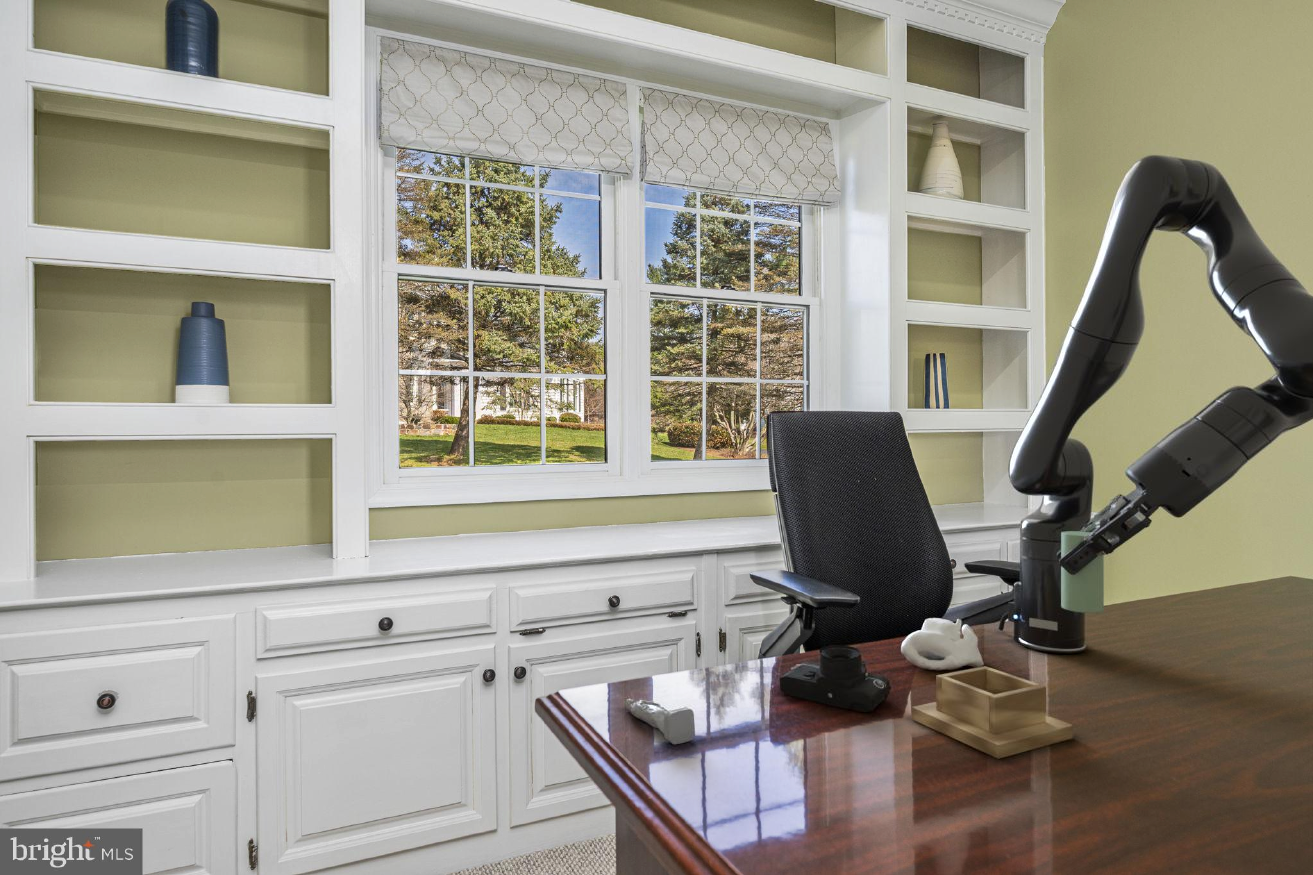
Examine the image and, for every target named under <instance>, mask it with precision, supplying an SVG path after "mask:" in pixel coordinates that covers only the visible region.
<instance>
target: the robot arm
mask: <svg viewBox="0 0 1313 875" xmlns="http://www.w3.org/2000/svg"><path fill="white" fill-rule="evenodd" d="M1219 170H1220V169H1218V168H1217V167H1215V166H1214V165H1212V164H1210V163H1207V162H1205V161H1202V160H1196V159H1191V158H1190V159H1189V158H1182V157H1176V156H1169V155H1161V154H1149V155H1147V156H1144V157H1142V158H1140V159H1139V160H1137V161H1136V162H1135V163H1133V165H1132V166H1131V167H1130V168H1129V170H1128V171H1127V172H1126V174H1125V175H1124V176H1123V178H1122V181H1121V182H1120V185H1119V187H1118V189H1117V192H1116V194H1115V197H1114V200H1113V203H1112V205H1111V206H1112V207H1111V209H1110V213H1109V215H1108V219H1107V221H1106V222H1107V223H1106V225H1105V230H1104V232H1103V236H1102V240H1101V242H1100V246H1099V249H1098V253H1097V256H1096V259H1095V262H1094V265H1093V267H1092V270H1091V273H1090V275H1089V279H1088V281H1087V284H1086V287H1085V289H1084V291H1083V294H1082V296H1081V298H1080V302H1079V303H1078V306H1077V308H1076V310H1075V313H1074V315H1073V317H1072V319H1071V321H1070V324H1069V326H1068V329H1067V331H1066V334H1065V336H1064V339H1063V341H1062V343H1061V346H1060V349H1059V352H1058V354H1057V357H1056V360H1055V362H1054V365H1053V367H1052V369H1051V371H1050V374H1049V376H1048V379H1047V381H1046V383H1045V385H1044V387H1043V389H1042V392H1041V394H1040V396H1039V399H1038V401H1037V403H1036V405H1035V407H1034V409H1033V410H1032V413H1031V414H1030V416H1029V418H1028V420H1027V422H1026V423H1025V425H1024V427H1023V429H1022V431H1021V432H1020V434H1019V437H1018V438H1017V440H1016V442H1015V443H1014V446H1013V448H1012V450H1011V453H1010V456H1009V460H1008V465H1007V466H1008V468H1007V469H1008V478H1009V481H1010V484H1011V486H1012V487H1013V488H1014V490H1016V491H1017V492H1018V493H1020V494H1022V495H1026V496H1033V497H1037V496H1038V497H1042V499H1041V503H1040V505H1039V506H1038V508H1037V509H1035V511H1033V512H1032V513H1030V514H1029V515H1027V516H1025V517H1023V518H1022V519H1021V520H1020V523H1019V581H1016V582H1014V584H1013V601H1009V602H1008V603H1007V612H1005V613H1004V614H1002V617H1001V618H1000V619H999V620H1000V621H999V625H998V631H1001V632H1003V631H1004V628H1005V624H1006V621H1007V620H1008V622H1011V623H1013V641H1014V642H1018V643H1019V644H1020V645H1021V646H1024V647H1025V648H1029V649H1032V650H1036V651H1040V652H1045V653H1052V654H1064V655H1065V654H1067V655H1069V654H1080V653H1084V652H1085V651H1086V613H1082V612H1075V611H1070V610H1066V609H1064V608H1062V607H1061V566H1062V567H1063V568H1064V569H1065V570H1066V571H1067V572H1068V573H1069V574H1071V575H1075V574H1076V573H1078V572H1079V571H1080V570H1081V569H1083V568H1084V567H1085V566H1086V565H1088V564H1089V563H1090V562H1091V561H1093V560H1094V559H1095V558H1096V557H1098V555H1097V553H1098V554H1099V555H1100V556H1102V555H1104V556H1105V555H1107V556H1108V555H1109V554H1113V552H1114V551H1115V550H1117V549H1118V548H1119V547H1121V546H1122V545H1123V544H1125V543H1126V542H1128V541H1129V540H1130V539H1132V538H1134V537H1135V536H1136V535H1137V534H1138V533H1140V532H1142V531H1143V530H1144V529H1147V528H1149V527H1150V526H1151V524H1152V521H1153V519H1151V518H1150V517H1151V516H1152V515H1153V514H1154V513H1155V512H1157V511H1158V510H1159V508H1162V509H1163V510H1164V511H1165V512H1166V513H1168V514H1169V515H1171V516H1172V517H1174V518H1179V519H1180V518H1182V517H1184V516H1185V515H1186V514H1188V513H1189V512H1190V511H1191V510H1192V509H1194V508H1195V507H1197V506H1198V505H1199V504H1200V503H1202V502H1203V501H1204V500H1205V499H1207V498H1208V497H1209V496H1211V495H1212V494H1213V493H1214V492H1215V491H1217V490H1218V489H1219V488H1221V487H1222V486H1223V485H1225V484H1226V483H1227V482H1228V481H1230V480H1231V479H1232V478H1233V477H1234V476H1235V475H1236V474H1237V473H1238V472H1239V471H1240V470H1241V469H1242V468H1243V467H1244V466H1245V465H1246V464H1247V463H1249V461H1251V460H1252V459H1253V458H1255V457H1256V456H1257V455H1258V454H1260V453H1261V452H1262V451H1264V450H1265V449H1266V448H1267V447H1269V446H1270V445H1271V444H1273V443H1274V442H1275V441H1276V440H1277V439H1278V438H1279V437H1280V436H1282V435H1284V434H1285V433H1287V432H1289V431H1292V430H1294V429H1296V428H1299V427H1301V426H1303V425H1304V424H1307V423H1308V422H1310V421H1312V420H1313V295H1312V294H1310V293H1309V291H1308V290H1307V289H1306V287H1305V286H1304V285H1303V284H1302V282H1300V280H1298V278H1297V277H1296V276H1295V275H1294V274H1293V273H1292V272H1291V271H1290V270H1289V269H1288V268H1287V267H1286V266H1285V265H1284V264H1283V262H1282V261H1280V260H1279V259H1278V257H1277V256H1276V255H1275V254H1274V253H1273V252H1272V251H1271V250H1270V248H1269V247H1268V246H1267V245H1266V244H1265V243H1264V241H1263V239H1262V238H1261V236H1260V235H1259V234H1258V232H1257V231H1256V229H1255V228H1254V226H1253V225H1252V223H1251V221H1250V220H1249V218H1248V216H1247V214H1246V213H1245V211H1244V209H1243V208H1242V206H1241V205H1240V203H1239V201H1238V199H1237V197H1236V195H1235V193H1234V192H1233V190H1232V188H1231V186H1230V184H1229V183H1228V181H1227V179H1226V178H1225V177H1224V175H1223V174H1222V173H1221V171H1219ZM1154 231H1163V232H1167V233H1180V234H1182V235H1184V237H1186V238H1188V239H1189V240H1191V241H1192V242H1193V243H1194V244H1196V245H1197V246H1198V247H1199V248H1200V249H1201V250H1202V252H1203V253H1204V255H1205V258H1206V280H1207V285H1208V287H1209V289H1210V292H1211V294H1212V296H1213V297H1214V299H1215V301H1216V302H1217V303H1218V304H1219V305H1220V307H1221V308H1222V309H1223V311H1225V313H1226V314H1227V315H1228V316H1229V318H1230V319H1231V320H1232V321H1233V322H1234V324H1235V325H1236V326H1237V327H1238V328H1239V329H1240V330H1241V331H1242V332H1243V333H1244V334H1245V335H1246V336H1248V337H1250V338H1252V340H1253V341H1254V342H1255V344H1256V345H1257V346H1258V347H1259V349H1260V350H1261V352H1262V353H1263V354H1264V356H1265V357H1266V359H1267V360H1268V362H1269V363H1270V365H1271V366H1272V368H1273V370H1274V372H1275V373H1274V374H1273V376H1271V377H1269V378H1268V379H1266V380H1265V381H1263V382H1261V383H1260V384H1258V385H1256V386H1255V387H1249V386H1247V385H1234V386H1231V387H1230V388H1227V389H1226V390H1224V391H1222V392H1221V393H1220V394H1219V395H1218V396H1216V397H1215V398H1214V399H1213V400H1211V401H1210V402H1209V403H1207V404H1206V405H1205V406H1204V407H1203V408H1202V409H1200V410H1199V411H1198V412H1196V414H1194V415H1193V416H1192V417H1191V418H1189V419H1188V420H1186V421H1185V422H1184V423H1182V424H1181V425H1179V426H1177V427H1175V428H1174V429H1173V430H1171V431H1170V432H1169V433H1168V434H1167V435H1165V436H1164V437H1163V438H1162V439H1160V441H1158V442H1157V443H1156V444H1154V445H1153V446H1152V447H1151V448H1149V449H1148V450H1147V451H1146V452H1145V453H1143V455H1142V456H1140V457H1139V458H1138V459H1137V460H1135V461H1134V462H1133V463H1132V464H1130V465H1129V466H1128V467H1127V468H1126V469H1125V471H1124V473H1125V476H1126V477H1127V478H1128V479H1129V480H1130V481H1131V482H1132V483H1133V484H1134V485H1135V489H1134V490H1132V491H1130V492H1129V493H1128V494H1126V495H1123V494H1122V493H1119V494H1117V495H1116V496H1115V497H1114V498H1112V499H1111V500H1110V502H1109V504H1107V505H1106V506H1105V507H1104V508H1102V509H1101V510H1100V511H1099V512H1097V513H1096V514H1094V516H1093V517H1092V513H1093V512H1092V511H1093V494H1094V478H1095V475H1094V474H1095V473H1094V471H1095V470H1094V463H1093V457H1092V454H1091V452H1090V451H1089V448H1088V447H1087V446H1086V445H1085V443H1083V442H1082V441H1080V440H1078V439H1076V438H1071V437H1070V435H1071V433H1072V431H1073V430H1074V427H1075V426H1076V424H1077V423H1078V421H1079V420H1080V419H1081V418H1082V417H1083V415H1084V414H1085V413H1086V412H1087V411H1088V410H1090V408H1091V407H1093V406H1094V405H1095V404H1096V403H1097V402H1098V401H1099V400H1101V398H1102V397H1104V395H1106V394H1107V393H1108V392H1109V391H1110V390H1111V389H1112V388H1113V387H1114V386H1115V385H1116V384H1117V383H1118V382H1119V381H1120V380H1121V378H1122V377H1123V376H1124V374H1125V373H1126V371H1127V370H1128V367H1129V366H1130V364H1131V362H1132V360H1133V358H1134V356H1135V354H1136V350H1137V349H1138V346H1139V344H1140V342H1141V340H1142V337H1143V335H1144V331H1145V324H1146V321H1145V320H1146V319H1145V307H1144V300H1143V295H1142V288H1141V281H1140V274H1141V273H1140V271H1141V265H1142V261H1143V258H1144V255H1145V252H1146V249H1147V248H1148V247H1147V246H1148V244H1149V242H1150V239H1151V237H1152V235H1153V232H1154ZM1091 518H1092V519H1091ZM1066 531H1080V532H1091V533H1090V534H1089V535H1086V536H1085V538H1084V540H1083V541H1085V542H1086V543H1084V542H1083V541H1081V542H1080V543H1079V544H1078V545H1077V546H1075V547H1074V548H1073V549H1072V550H1070V551H1069V552H1068V553H1067V554H1066V555H1064V556H1063V557H1062V558H1061V533H1062V532H1066ZM1102 535H1104V537H1103V536H1102Z"/></svg>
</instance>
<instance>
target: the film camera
mask: <svg viewBox="0 0 1313 875" xmlns="http://www.w3.org/2000/svg"><path fill="white" fill-rule="evenodd" d="M890 682H891V681H890V680H889V679H888V678H887V677H885V676H883V675H880V674H875V673H869V672H868V669H867V667H866V661H865V660H862V652H861V650H860V649H858V648H856V647H854V646H851V645H843V644H832V645H826V646H822V647H821V648H820V649H819V650H818V662H814V661H809V660H807V661H803V662H801V663H800V664H799V663H797V664H796V665H794V666H792V667H791V668H790V670H789V671H787V672H786V673H784V674H783V675H781V676H780V677H779V691H780V692H782V693H783V694H784V695H786V696H789V697H794V698H795V697H796V698H799V699H802V700H806V701H810V702H815V703H820V704H823V705H828V706H833V707H836V708H841V709H844V710H852V711H855V712H856V711H857V712H860V713H870V712H873V711H874V710H875V708H877V706H878V705H880V704H881V702H883V701H884V700H887V699H888V698H889V695H891V690H892V687H891V686H890Z"/></svg>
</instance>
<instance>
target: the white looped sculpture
mask: <svg viewBox="0 0 1313 875" xmlns="http://www.w3.org/2000/svg"><path fill="white" fill-rule="evenodd" d="M961 635H963V638H961ZM978 643H979V638H978V636H977V635H976V634H975V632H974V629H973V628H972V627H970V625H969V624H967V623H966V624H963V625H962V619H959V618H957V619H956V622H955V623H954V622H953V621H951V620H949V619H945V618H939V617H929V618H926V619H925V620H924V622H923V624H922V627H921V629H920V630H916V631H913V632H911V633H910V634H908V635H907V636H906V637H905V639H904V640H903V641H902V643H901V644H900V652H901V654H902V655H903V656H904V657H905V659H906V660H907V661H908V662H910V663H911V664H913V665H914V666H916V667H918V668H920V669H924V670H925V669H926V670H930V671H933V670H934V671H938V672H939V671H944V670H945V671H946V670H947V671H952V670H956V669H960V668H963V667H964V666H967V667H968V666H969V667H971V668H978V667H984V666H985V663H984V661H983V658H982V654H981V653H980V648H979V646H978Z"/></svg>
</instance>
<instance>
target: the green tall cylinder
mask: <svg viewBox="0 0 1313 875" xmlns="http://www.w3.org/2000/svg"><path fill="white" fill-rule="evenodd" d="M1090 533H1091V532H1080V531H1066V532H1062V533H1061V558H1062V557H1063V556H1064V555H1066V554H1067V553H1068V552H1069V551H1070V550H1072V549H1073V548H1074V547H1075V546H1077V545H1078V544H1079V543H1080V542H1081V541H1083V540H1084V538H1085V536H1086V535H1089V534H1090ZM1102 536H1103V537H1104V535H1102ZM1083 542H1084V543H1086V542H1085V541H1083ZM1097 555H1098V557H1096V558H1095V559H1094V560H1093V561H1091V562H1090V563H1089V564H1088V565H1086V566H1085V567H1084V568H1083V569H1081V570H1080V571H1079V572H1078V573H1076V574H1075V575H1071V574H1069V573H1068V572H1067V571H1066V570H1065V569H1064V568H1063V567H1062V566H1061V607H1062V608H1064V609H1066V610H1070V611H1075V612H1082V613H1085V614H1100V613H1103V612H1104V609H1105V608H1104V607H1105V606H1104V604H1105V603H1104V602H1105V601H1104V600H1105V598H1104V597H1105V596H1104V595H1105V590H1104V589H1105V588H1104V587H1105V586H1104V585H1105V583H1104V582H1105V581H1104V580H1105V579H1104V578H1105V575H1104V574H1105V566H1104V564H1105V563H1104V562H1105V561H1104V560H1105V557H1104V556H1105V555H1102V556H1100V555H1099V554H1098V553H1097Z"/></svg>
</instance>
